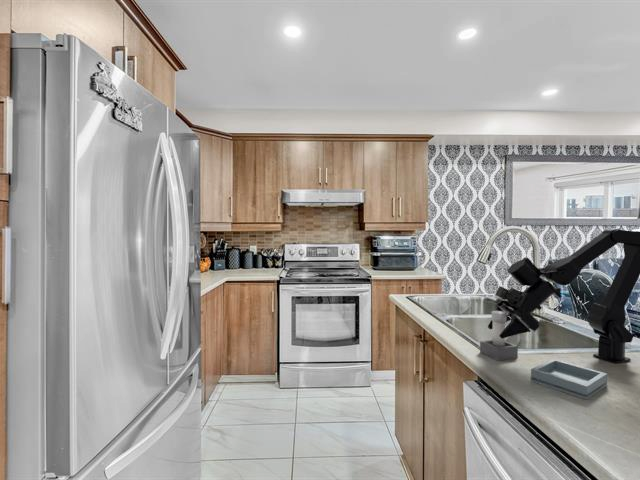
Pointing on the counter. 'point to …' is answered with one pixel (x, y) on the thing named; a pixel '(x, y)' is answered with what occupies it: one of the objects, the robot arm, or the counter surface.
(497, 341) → the white rounded column
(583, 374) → the parts tray
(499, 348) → the light bulb socket
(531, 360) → the counter surface
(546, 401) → the counter surface
